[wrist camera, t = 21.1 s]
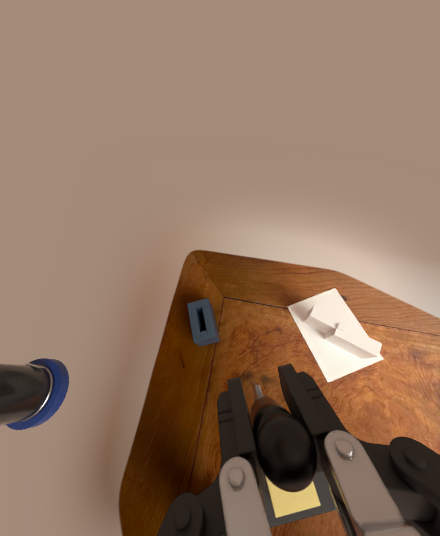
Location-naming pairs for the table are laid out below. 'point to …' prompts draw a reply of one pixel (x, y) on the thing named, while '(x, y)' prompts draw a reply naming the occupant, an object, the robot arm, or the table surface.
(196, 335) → the knife stand
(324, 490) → the board
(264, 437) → the knife
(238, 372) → the table surface
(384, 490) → the robot arm
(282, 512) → the butter block
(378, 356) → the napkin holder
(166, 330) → the table surface
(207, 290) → the table surface
